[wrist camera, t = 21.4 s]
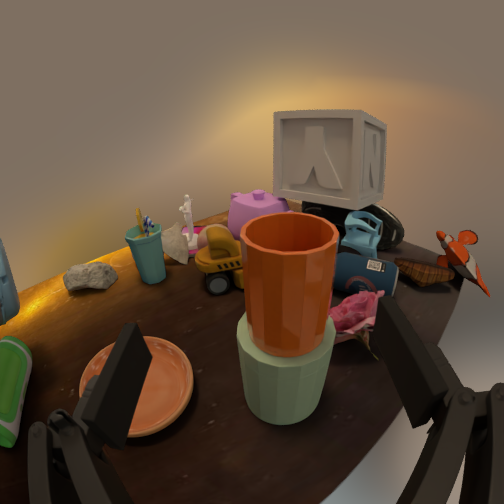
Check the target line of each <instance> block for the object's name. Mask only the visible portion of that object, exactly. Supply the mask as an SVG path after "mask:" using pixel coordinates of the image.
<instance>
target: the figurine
mask: <svg viewBox="0 0 504 504" xmlns="http://www.w3.org/2000/svg"><path fill="white" fill-rule="evenodd" d="M192 200H193V199H192ZM184 201H185V204H184V206H183V207H184V210H183V207H182V206H181V207H180V209H179V211H180V210H181V211H182V212H183V213H185V215H184V219H185V222H186V225H187V228H188V231H189V233H185V234H183V235H186V236H187V240H188V249H189V250H194V249H197V248H198V247H197V238H198V234H195V233H194V227H193V222H192V219H191V218H192V213H191V200H190V197H189V196H188V195H184Z"/></svg>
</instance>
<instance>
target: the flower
mask: <svg viewBox="0 0 504 504" xmlns="http://www.w3.org/2000/svg"><path fill="white" fill-rule="evenodd" d="M384 293H385V292H384V290H382V291H378V292H377V294H375V292H368V291H363V292H362V291H360V292H359V294H354V295H352V296H350V297H347V298H346V299H344V300H343V302H342V303H341V304H339V305H338V306H337V307H333V308H331V309H330V311H329V316H330V317H331V318H332V319H333V323H334V326H335V330H336V336H335V340H334V344H336V343H340V342H344V341H346V340H349V339H353V338H354V339H356V340H358V341H360V342H361V343H363V344H364V345H365V346H366V348H367V349H368V350H370V347H369V345H368V343H369V331H373V328H374V323H375V317H376V311H377V304H378V297H383V295H384ZM370 352H371V351H370ZM371 353H372V352H371ZM372 354H373V353H372ZM373 355H374V354H373ZM374 357H375V358H376V356H375V355H374ZM376 359H377V358H376ZM377 360H378V359H377Z"/></svg>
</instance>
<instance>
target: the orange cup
mask: <svg viewBox="0 0 504 504" xmlns="http://www.w3.org/2000/svg"><path fill="white" fill-rule="evenodd" d="M240 243H241V255H242V268H243V280H244V292H245V304H246V316H247V328H248V332H249V336H250V339H251V340H252V342H253V343H254V344H255V346H256V347H258V348H259V349H260V350H262V351H263V352H265V353H267V354H270V355H273V356H277V357H297V356H301V355H304V354H307V353H309V352H311V351H312V350H314V349H315V348H316V347H318V346H319V344H320V343H321V342H322V340H323V338H324V336H325V331H326V328H327V323H328V317H329V311H330V305H331V298H332V291H333V284H334V277H335V269H336V261H337V252H338V243H339V232H338V230H337V228H336V226H335V225H334V224H332V223H331V222H329V221H328V220H326V219H324V218H321V217H318V216H315V215H312V214H306V213H298V212H278V213H271V214H266V215H261V216H259V217H256V218H254V219H251V220H249V221H248V222H247V223H246V224H245V225H244V226H242V228H241V233H240Z"/></svg>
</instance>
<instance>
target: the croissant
mask: <svg viewBox="0 0 504 504" xmlns="http://www.w3.org/2000/svg"><path fill="white" fill-rule="evenodd" d="M394 264H395V265H396V266H397V267H398V268H399V271H401V272H402V273H403V274H405V275H406V276H408V277H410V278H411V279H412V280H413V281H414V282H415V283H416V284H417V285H419V286H420V287H424V286H429V285H431V284H434V283H442V282H447V281H449V280H452V279H453V278H454V275H455V274H454V271H453V270H451V269H449V268H446V267H443V266H440V265H435V264H431V263H427V262H423V261H418V260H414V259H408V258H402V257H401V258H395V260H394Z"/></svg>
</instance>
